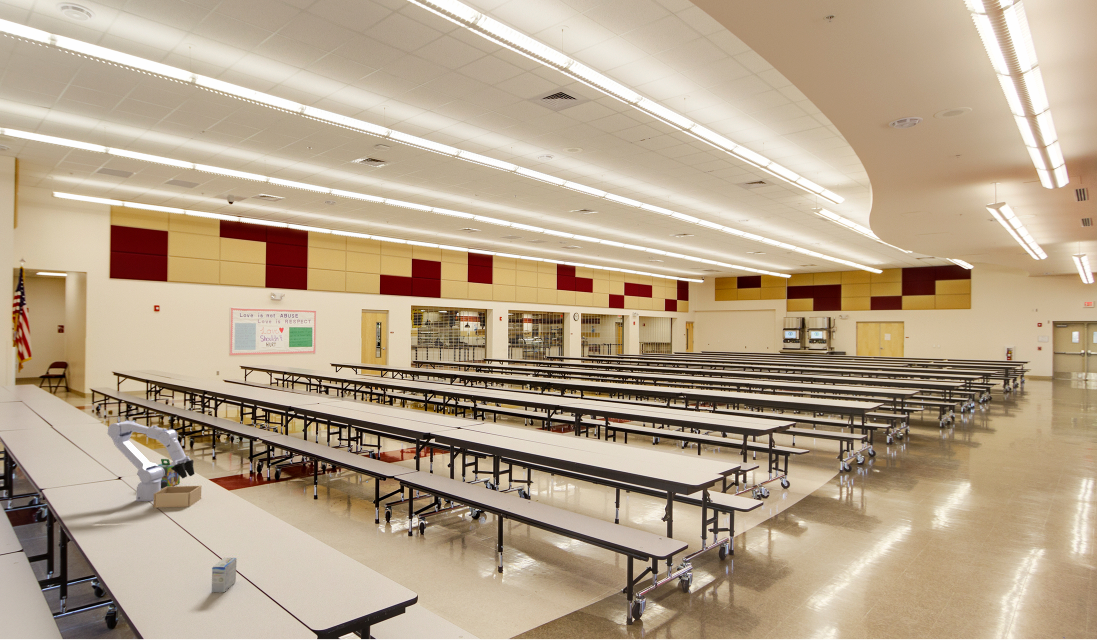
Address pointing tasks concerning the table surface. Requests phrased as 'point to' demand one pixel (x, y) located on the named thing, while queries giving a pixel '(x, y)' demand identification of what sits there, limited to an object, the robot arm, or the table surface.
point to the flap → (172, 500)
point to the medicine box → (223, 574)
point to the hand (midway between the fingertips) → (188, 476)
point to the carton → (192, 490)
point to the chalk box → (169, 475)
